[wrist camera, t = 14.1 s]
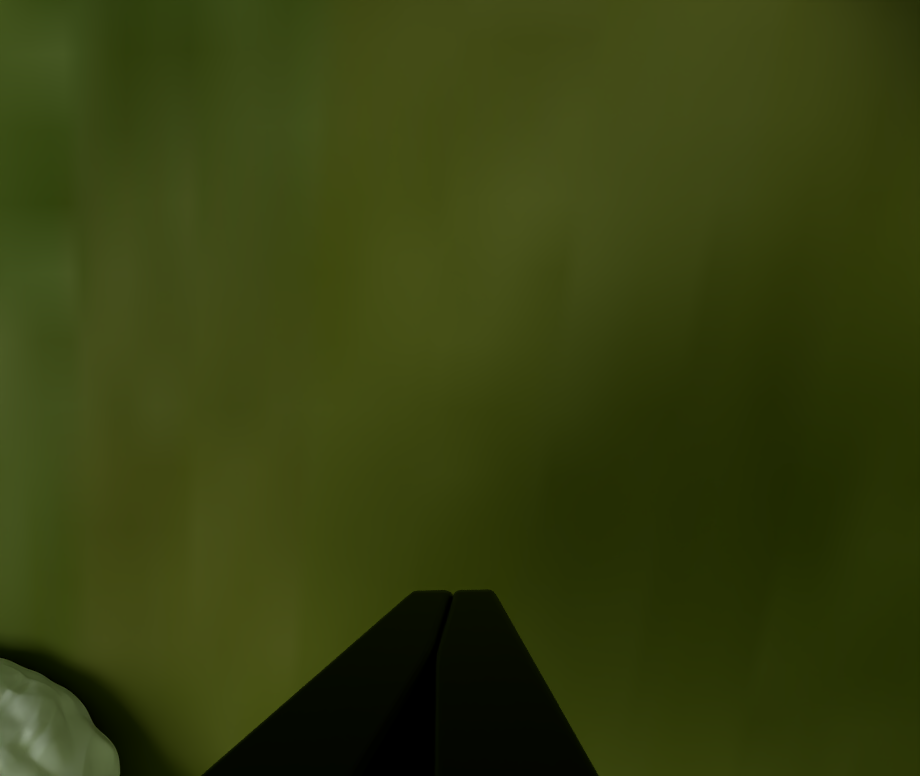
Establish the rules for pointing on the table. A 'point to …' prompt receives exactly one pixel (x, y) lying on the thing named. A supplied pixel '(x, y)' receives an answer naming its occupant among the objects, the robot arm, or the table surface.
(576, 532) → the table surface
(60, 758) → the white animal figurine
